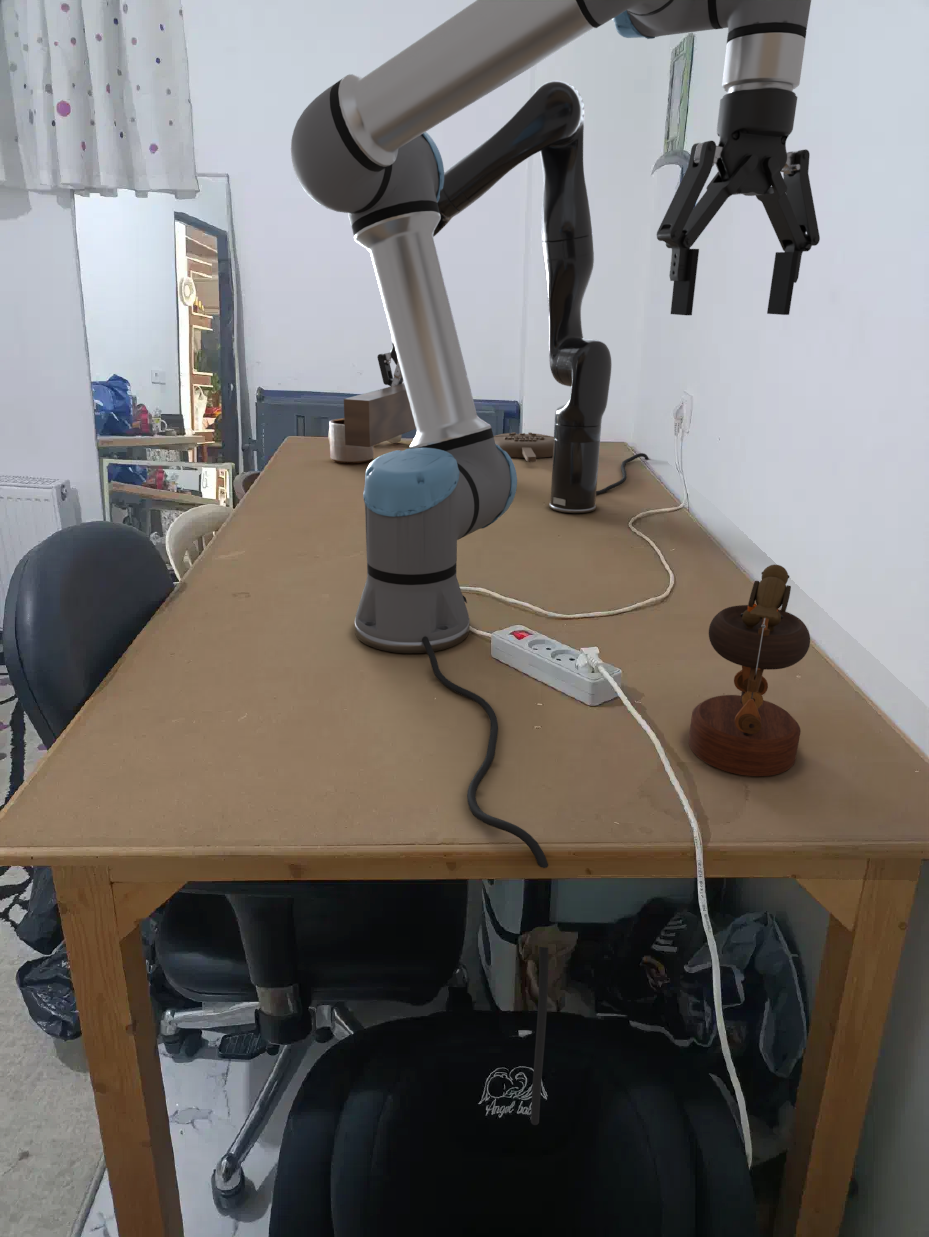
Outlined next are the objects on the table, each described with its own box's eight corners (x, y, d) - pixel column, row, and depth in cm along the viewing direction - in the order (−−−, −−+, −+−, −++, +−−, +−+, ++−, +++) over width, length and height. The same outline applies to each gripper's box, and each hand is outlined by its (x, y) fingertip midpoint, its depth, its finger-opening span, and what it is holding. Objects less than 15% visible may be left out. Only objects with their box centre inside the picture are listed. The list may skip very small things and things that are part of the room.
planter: (327, 456, 217) (325, 418, 214) (369, 454, 220) (368, 417, 217) (334, 465, 208) (332, 425, 204) (377, 463, 211) (376, 424, 207)
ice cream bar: (489, 467, 208) (489, 450, 207) (482, 445, 234) (482, 430, 233) (574, 467, 209) (575, 450, 208) (557, 446, 235) (558, 430, 234)
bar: (369, 447, 148) (368, 400, 145) (345, 445, 150) (343, 399, 146) (428, 424, 172) (428, 383, 169) (406, 422, 174) (406, 382, 171)
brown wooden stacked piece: (818, 789, 79) (839, 589, 72) (698, 789, 81) (706, 593, 73) (780, 711, 93) (794, 537, 86) (678, 712, 95) (683, 541, 87)
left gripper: (822, 109, 94) (791, 312, 102) (635, 87, 84) (617, 313, 92) (878, 98, 87) (840, 315, 95) (682, 72, 78) (658, 316, 86)
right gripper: (452, 319, 164) (451, 408, 170) (385, 316, 168) (386, 403, 175) (438, 320, 157) (438, 413, 164) (368, 317, 162) (370, 408, 168)
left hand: (730, 315), depth 94 cm, fingers open, 13 cm apart
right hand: (411, 408), depth 169 cm, fingers closed on bar, 4 cm apart
